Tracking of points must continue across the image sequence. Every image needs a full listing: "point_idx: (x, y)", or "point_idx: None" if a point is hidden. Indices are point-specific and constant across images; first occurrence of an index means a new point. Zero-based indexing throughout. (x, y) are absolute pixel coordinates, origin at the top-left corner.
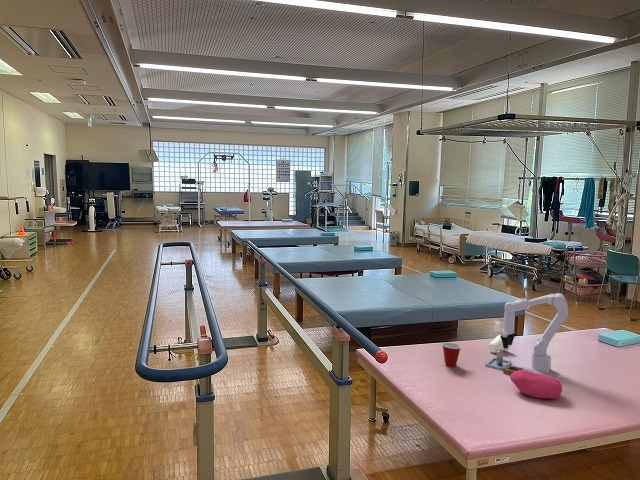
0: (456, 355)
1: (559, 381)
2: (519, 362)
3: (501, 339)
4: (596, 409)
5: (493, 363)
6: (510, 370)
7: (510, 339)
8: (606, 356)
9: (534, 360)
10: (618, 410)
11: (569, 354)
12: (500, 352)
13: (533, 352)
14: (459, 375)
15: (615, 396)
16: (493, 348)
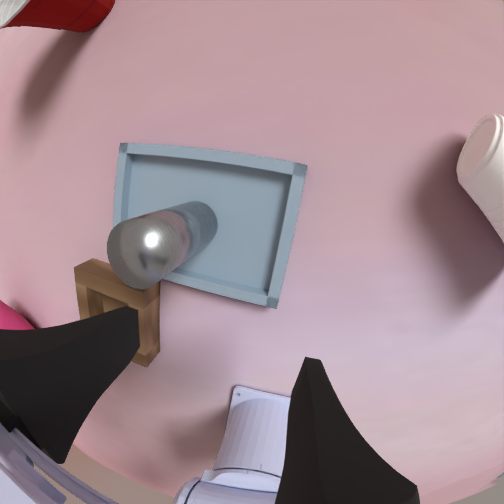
0: (32, 26)
1: None
2: (340, 343)
3: (16, 330)
4: (81, 435)
5: (197, 180)
6: (80, 302)
7: (293, 446)
8: (452, 489)
9: (226, 440)
10: (108, 461)
11: (473, 452)
12: (113, 259)
13: (230, 475)
14: (24, 99)
15: (170, 487)
16: (475, 157)
